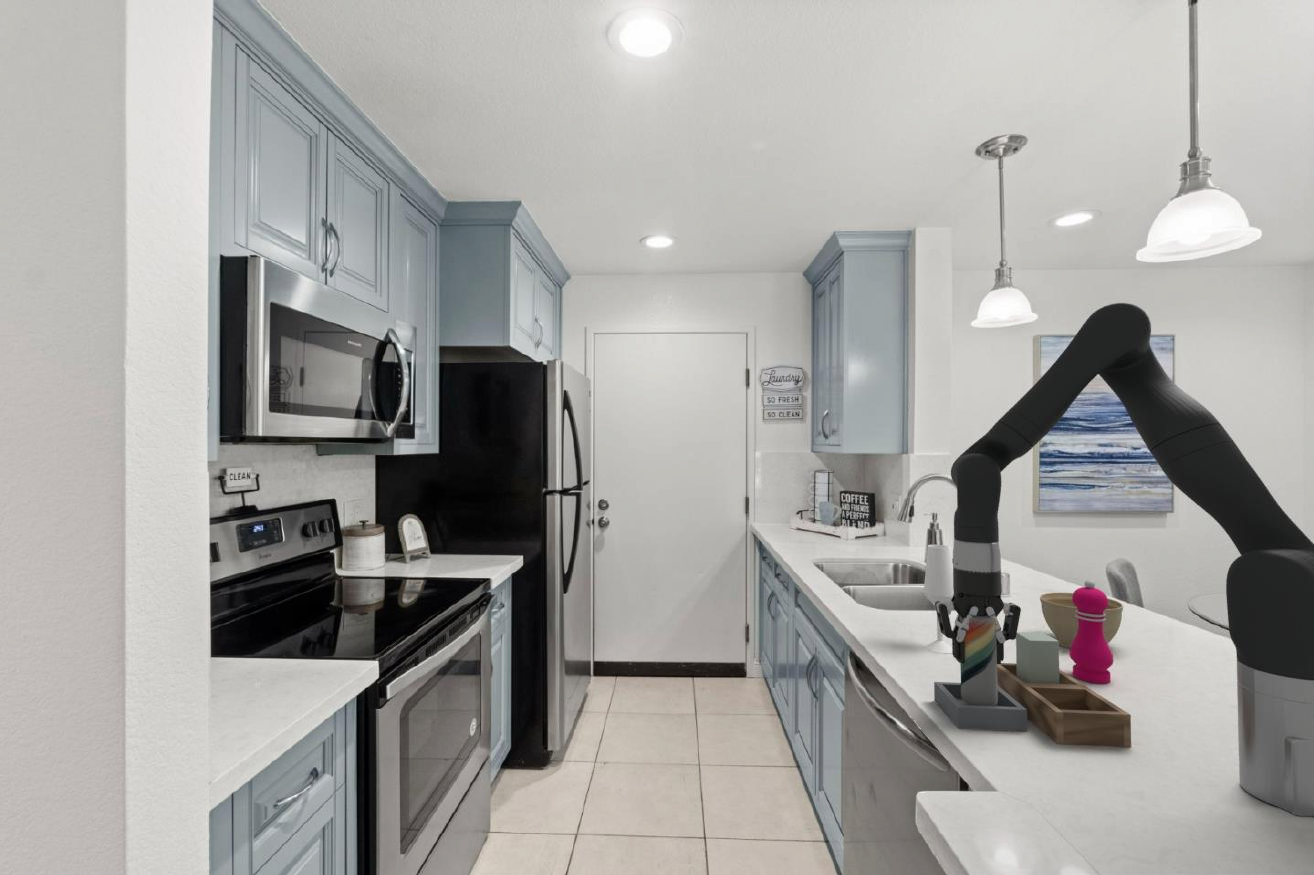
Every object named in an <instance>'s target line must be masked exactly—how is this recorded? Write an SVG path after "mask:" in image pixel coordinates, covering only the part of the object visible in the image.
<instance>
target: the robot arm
mask: <svg viewBox="0 0 1314 875" xmlns="http://www.w3.org/2000/svg"><path fill="white" fill-rule="evenodd" d="M1151 335H1152V324H1151V320H1150V317H1149V315H1148V313H1147V312H1146V311H1145V310H1144V309H1143V308H1142V307H1140V306H1138V305H1135V304H1133V303H1128V302H1116V303H1109V304H1107V305H1103V306H1102V307H1100V308H1098V309H1097V310H1096V311H1094V312H1092V314H1090V316H1088V318H1087V319H1086V320H1085V322H1084V323H1083V324H1082V326H1081V327H1080V328H1079V330H1078V331H1077V333H1076V334H1075V335H1074V337H1073V339H1071V341H1070V342H1069V344H1068V345H1067V346H1066V348H1065V349H1064V350H1063V351H1062V353H1061V354H1060V355H1059V356H1058V358H1057V359H1056V360H1055V362H1053V364H1052V365H1051V366H1050V367H1049V368H1048V369H1047V371H1046V372H1045V373H1043V375H1042V376H1041V377H1040V378H1039V379H1038V381H1037V382H1035V383H1034V385H1033V386H1032V387H1031V388H1029V390H1028V391H1027V392H1026V393H1025V394H1024V395H1023V396H1021V398H1020V399H1019V400H1018V401H1017V402H1016V403H1015V404H1014V405H1013V406H1011V407H1010V409H1008V411H1007V412H1005V413H1004V414H1003V415H1002V416H1001V417H1000V418H999V419H998V420H997V421H996V422H995V423H994V425H992V427H990V429H989V430H988V431H987V432H986V433H985V434H984V435H983V436H981V437H980V438H979V439H977V441H976V442H974V443H973V444H972V445H971V446H970V445H969V446H970V447H968V448H967V449H966V450H965V451H964V452H963V453H961V454H960V455H959V456H958V457H957V458H955V460H954V462H953V464H952V465H951V469H950V476H951V480H952V482H953V484H954V485H955V486H956V498H957V499H956V503H957V504H956V505H957V506H956V509H955V511H954V516H953V547H952V558H951V560H952V569H953V591H954V595H953V598H952V599H951V601H948V602H940V601H937V602H935V605H934V608H935V611H936V618H937V617H938V621H939V626H940V631H941V633H942V634H943V636H945V637H946V638H948V639H951V642H952V643H951V647H952V653H951V654H952V657H953V658H954V659H955V660H956V661H957V662H958V663H959V664H960V663H964V662H965V650H964V642H963V639H964V637H965V635H966V631H968V630H969V618H973V617H975V616H976V614H977V612H978V608H977V607H976V606H973V605H971V596H975V597H989V606H987V607H986V613H987V615H986V616H988V617H989V618H994V619H995V624H996V625H995V630H996V647H997V664H1001V663H1002V662H1003V661H1004V659H1005V647H1004V646H1005V642H1006V641H1009V640H1011V641H1014V640H1016V634H1017V632H1018V628H1019V623H1020V618H1021V612H1022V608H1021V607H1020V606H1019V605H1018V604H1015V603H1014V602H1004V601H1003V599H1002V597H1001V596H1002V560H1001V558H1002V557H1001V556H1002V555H1001V550H1000V549H1001V548H1000V543H999V540H1000V539H999V534H1000V533H999V531H1000V530H999V529H1000V528H999V517H998V516H999V515H998V514H999V508H1000V501H1001V494H1002V493H1001V492H1002V472H1003V471H1004V470H1005V469H1006V468H1007V467H1008V466H1009V465H1010V464H1011V463H1012V462H1013V461H1015V460H1016V459H1019V458H1021V457H1023V456H1025V455H1026V454H1027V453H1028V452H1030V451H1031V450H1032V449H1033V448H1034V447H1035V446H1036V445H1037V444H1038V443H1039V442H1040V441H1041V440H1042V439H1043V438H1044V437H1045V436H1046V435H1048V433H1049V432H1051V431H1052V429H1053V428H1054V427H1055V426H1056V425H1057V424H1058V422H1060V420H1061V419H1062V417H1064V416H1065V414H1066V412H1067V411H1068V410H1069V408H1071V406H1072V404H1073V403H1074V401H1076V399H1077V398H1078V397H1079V395H1080V394H1081V393H1082V391H1084V389H1086V387H1087V386H1089V384H1090V383H1091V382H1092V381H1093V380H1094V379H1095V378H1096V377H1097V376H1098V375H1099V376H1100V377H1101V379H1102V380H1103V381H1104V382H1105V383H1106V384H1107V385H1108V387H1109V388H1110V389H1111V390H1112V391H1113V393H1114V394H1115V395H1116V397H1117V398H1118V399H1119V400H1120V402H1121V404H1122V406H1123V407H1124V409H1125V411H1126V412H1127V414H1128V416H1129V418H1130V420H1131V421H1132V424H1133V425H1134V427H1135V429H1136V430H1137V432H1138V435H1139V436H1140V438H1141V439H1142V441H1143V442H1144V444H1145V445H1146V448H1147V449H1148V451H1149V452H1150V454H1151V455H1152V457H1153V458H1154V460H1155V461H1156V462H1157V465H1158V466H1159V467H1160V469H1161V470H1162V472H1163V473H1164V475H1165V476H1166V477H1167V479H1169V480H1170V482H1171V483H1172V484H1173V485H1175V487H1177V489H1179V491H1180V492H1182V493H1183V494H1184V495H1185V496H1186V497H1188V498H1189V499H1190V500H1191V501H1192V502H1194V503H1195V504H1196V505H1197V506H1199V507H1200V508H1201V509H1202V510H1203V511H1204V512H1205V513H1207V514H1208V515H1209V516H1210V517H1211V518H1213V520H1214V521H1216V523H1218V524H1219V526H1221V528H1222V529H1223V530H1224V531H1225V533H1226V534H1227V536H1228V537H1229V539H1230V540H1231V542H1232V543H1233V544H1234V547H1235V548H1236V549H1237V550H1238V552H1239V554H1240V556H1238V557H1237V558H1235V560H1234V561H1232V563H1231V564H1230V565H1229V568H1228V570H1227V575H1226V580H1225V581H1226V582H1225V584H1226V585H1225V588H1226V589H1225V593H1226V594H1225V596H1226V608H1227V619H1228V621H1227V622H1228V623H1227V624H1228V630H1229V631H1228V632H1229V633H1228V634H1229V636H1230V639H1231V641H1232V643H1233V646H1234V647H1235V651H1236V680H1237V681H1236V686H1237V690H1236V691H1237V692H1236V694H1237V696H1236V697H1237V728H1238V730H1237V731H1238V734H1237V737H1238V763H1239V764H1238V770H1239V771H1238V773H1239V785H1240V786H1241V788H1242V789H1243V790H1244V791H1246V792H1247V793H1248V794H1250V795H1252V796H1253V797H1255V798H1257V799H1259V800H1261V801H1263V802H1265V803H1267V804H1270V805H1273V806H1276V807H1278V808H1281V809H1283V810H1286V811H1288V812H1289V813H1291V814H1293V815H1295V816H1305V817H1307V816H1309V817H1314V543H1313V541H1311V539H1310V538H1309V537H1308V536H1307V535H1306V534H1305V533H1304V532H1303V531H1302V530H1301V528H1300V527H1298V525H1296V523H1295V522H1294V521H1293V520H1292V518H1290V517H1289V515H1288V514H1287V513H1286V512H1285V511H1284V509H1283V508H1282V507H1281V505H1279V504H1278V501H1277V500H1276V498H1274V496H1273V495H1272V493H1271V492H1270V491H1269V488H1268V487H1267V485H1266V484H1265V483H1264V482H1263V480H1262V479H1261V477H1260V476H1259V475H1258V473H1257V471H1255V469H1254V467H1252V465H1251V464H1250V462H1249V461H1248V460H1247V458H1246V457H1245V455H1244V453H1242V451H1241V450H1240V448H1239V447H1238V445H1237V444H1236V443H1235V441H1234V440H1233V438H1232V437H1231V436H1230V434H1229V433H1228V432H1227V430H1226V429H1225V428H1224V426H1223V425H1222V423H1221V422H1220V421H1219V419H1217V418H1216V417H1215V416H1214V414H1213V413H1212V412H1210V410H1208V409H1207V407H1205V406H1204V405H1203V404H1201V403H1200V402H1199V401H1197V400H1196V399H1195V398H1193V397H1192V396H1191V395H1190V394H1188V393H1187V392H1185V391H1184V390H1183V389H1182V388H1181V387H1179V386H1178V385H1177V384H1176V383H1175V382H1174V381H1173V380H1172V379H1171V378H1170V377H1169V375H1168V374H1167V372H1166V371H1165V369H1164V368H1163V366H1162V365H1161V363H1160V362H1159V360H1158V358H1157V356H1156V355H1155V353H1154V351H1153V348H1152V346H1151V343H1150V340H1151ZM952 609H954V610H955V612H956V613H957V615H956V617H955V620H954V625H953V628H952V623H951V620H950V616H949V615H951V614H952ZM1001 612H1003V614H1004V620H1003V625H1002V627H1001V624H1000V623H999V620H998V616H999V615H1000V613H1001ZM960 617H962V618H965V619H964V621H963V623H961V622H960ZM967 623H968V624H967Z"/></svg>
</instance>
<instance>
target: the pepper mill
mask: <svg viewBox="0 0 1314 875" xmlns="http://www.w3.org/2000/svg"><path fill="white" fill-rule="evenodd" d="M1083 584H1084V586H1082V587H1079V588H1076V590H1074V591H1073V592H1072V593H1073V596H1072V601H1073V603H1074V605H1075V606H1076V607H1077V610H1075V611H1076V615H1075V616H1076V617H1077V618H1078V623H1079V624H1078V631H1077V634H1076V637H1075V638H1074V640H1073V642H1072V644H1071V647H1070V648H1069V657H1070V659H1071V660H1072V661H1073V662H1074V665H1073V666H1072V675H1073V677H1075V678H1076V679H1078V680H1080V681H1085V682H1087V683H1090V684H1091V683H1092V684H1093V683H1094V684H1104V685H1105V684H1109V683H1110V682H1111V672H1110V671H1109V670H1108V669H1109V668H1110V667H1112V666H1113V664H1114V655H1113V653H1112V650H1111V648H1110V645H1109V643H1108V644H1107V642H1106V640H1105V637H1104V634H1103V621H1105V620H1106V619H1105V615H1106V614H1105V613H1104V610H1105V609H1107V607H1108V599H1109V598H1108V597H1107V595H1106V593H1104V592H1103V591H1102V590H1100V589H1099V588H1096V583H1095V581H1093V580H1092V579H1087V580H1085V581H1084V583H1083Z"/></svg>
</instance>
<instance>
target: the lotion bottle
mask: <svg viewBox="0 0 1314 875" xmlns="http://www.w3.org/2000/svg"><path fill="white" fill-rule="evenodd" d="M971 605H973V606H976V607H977V608H978V612H977V614H976V616H975V617H973V618H969V630H968V631H966V635H965V637H964V639H963V642H964V650H965V662H964V663H959V664H960V683H961V697H962V700H963V701H964V702H966V703H968V704H970V705H975V706H996V705H997V701H998V692H997V647H996V630H995V625H996V624H995V619H994V618H989V617H988V616H986V615H987V613H986V607H987V606H989V597H975V596H971ZM964 619H965V618H962V617H960V622H961V623H963V621H964ZM967 624H968V623H967Z"/></svg>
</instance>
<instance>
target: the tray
mask: <svg viewBox="0 0 1314 875" xmlns="http://www.w3.org/2000/svg"><path fill="white" fill-rule="evenodd" d="M933 684H934V685H933V687H934V688H933V689H934V690H933V692H934V693H933V694H934V697H933V698H934V702H935V704H936V705H937V706H938V707H939V708H940V709H941V710H942V711H943V713H945V715H946V716H947V717H948V718H949V719H950V720H951V722H952V723H953V724H954V725H955V726H956V727H957V729H965V730H966V729H967V730H968V729H969V730H993V731H1010V732H1011V731H1013V732H1014V731H1017V732H1028V718H1027V709H1025V708H1024V707H1023V706H1022V705H1021V704H1019V703H1018V702H1017V701H1016V700H1015V699H1013V698H1012V697H1011V696H1010V695H1009V694H1007V693H1006V692H1005V691H1004V690H1003V689H1001V688H1000V687H999V686H998V685H997V692H998V701H997V705H996V706H975V705H970V704H968V703H966V702H964V701H963V700H962V697H961V682H949V681H947V682H944V681H934V682H933Z"/></svg>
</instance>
